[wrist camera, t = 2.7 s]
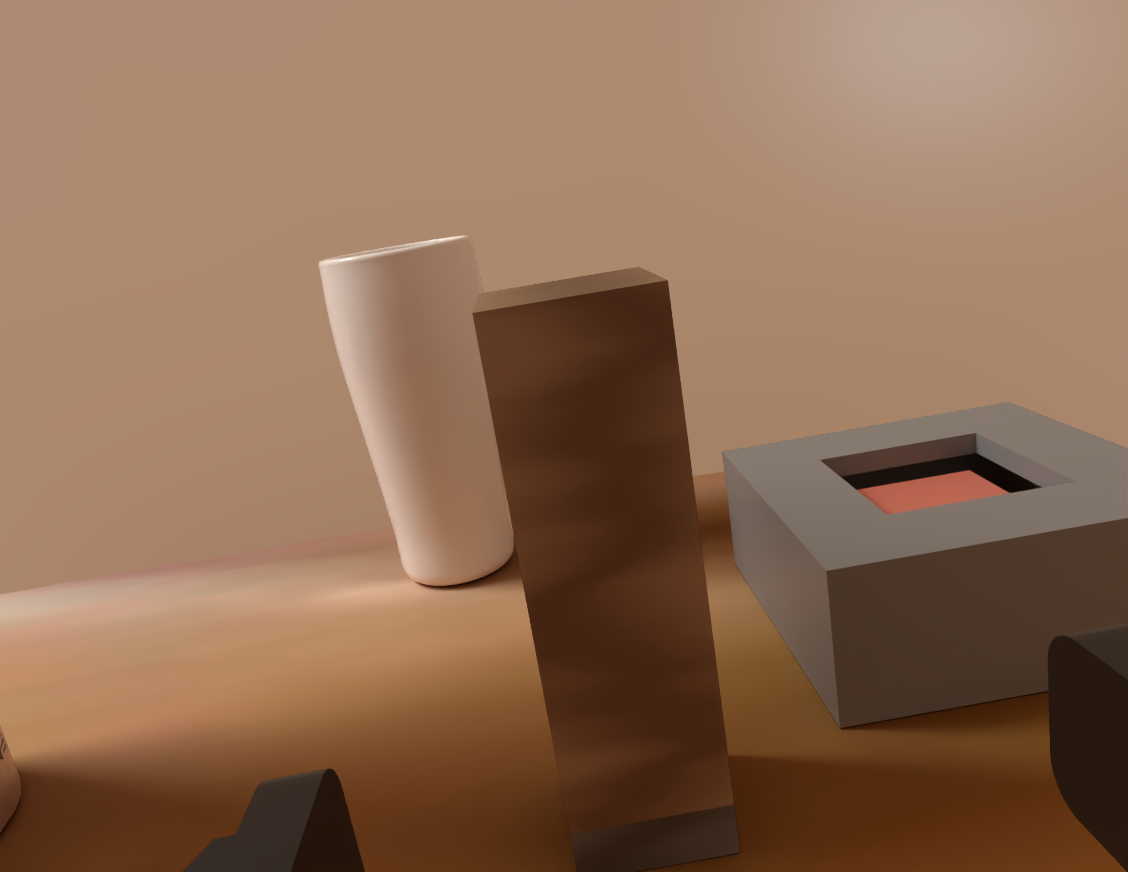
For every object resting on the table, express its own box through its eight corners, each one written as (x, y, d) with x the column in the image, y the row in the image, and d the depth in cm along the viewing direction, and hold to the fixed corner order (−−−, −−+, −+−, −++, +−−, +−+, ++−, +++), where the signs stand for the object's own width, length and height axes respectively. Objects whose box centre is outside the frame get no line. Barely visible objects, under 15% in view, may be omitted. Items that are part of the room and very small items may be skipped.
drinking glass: (538, 529, 44) (484, 231, 40) (522, 589, 38) (456, 240, 34) (409, 545, 45) (344, 254, 41) (372, 606, 38) (290, 266, 35)
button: (903, 591, 28) (899, 539, 28) (847, 536, 33) (843, 492, 32) (1047, 565, 28) (1046, 514, 28) (971, 515, 33) (969, 470, 32)
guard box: (840, 728, 25) (826, 571, 24) (735, 563, 37) (722, 451, 35) (1242, 656, 25) (1250, 496, 24) (1011, 515, 37) (1008, 402, 36)
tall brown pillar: (579, 882, 21) (472, 312, 17) (567, 777, 25) (478, 293, 21) (740, 852, 21) (667, 280, 18) (704, 753, 25) (639, 266, 21)
